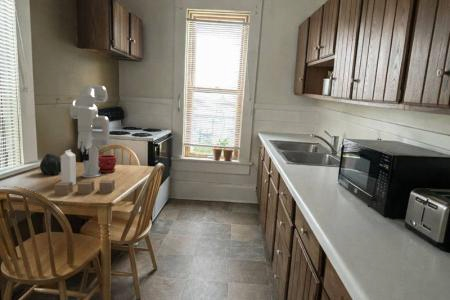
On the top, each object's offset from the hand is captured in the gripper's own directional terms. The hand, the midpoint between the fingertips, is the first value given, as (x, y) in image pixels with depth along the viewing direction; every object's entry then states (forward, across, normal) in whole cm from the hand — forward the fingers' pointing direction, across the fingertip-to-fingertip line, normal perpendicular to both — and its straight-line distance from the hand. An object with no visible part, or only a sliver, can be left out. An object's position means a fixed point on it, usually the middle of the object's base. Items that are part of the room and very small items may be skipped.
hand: (85, 160), depth 175 cm
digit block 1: (+19, +3, -11) cm, 22 cm away
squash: (+19, -40, -36) cm, 57 cm away
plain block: (+19, 0, 0) cm, 19 cm away
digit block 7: (+19, -4, +11) cm, 22 cm away
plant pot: (+19, -51, -2) cm, 54 cm away
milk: (+19, -14, -15) cm, 28 cm away
